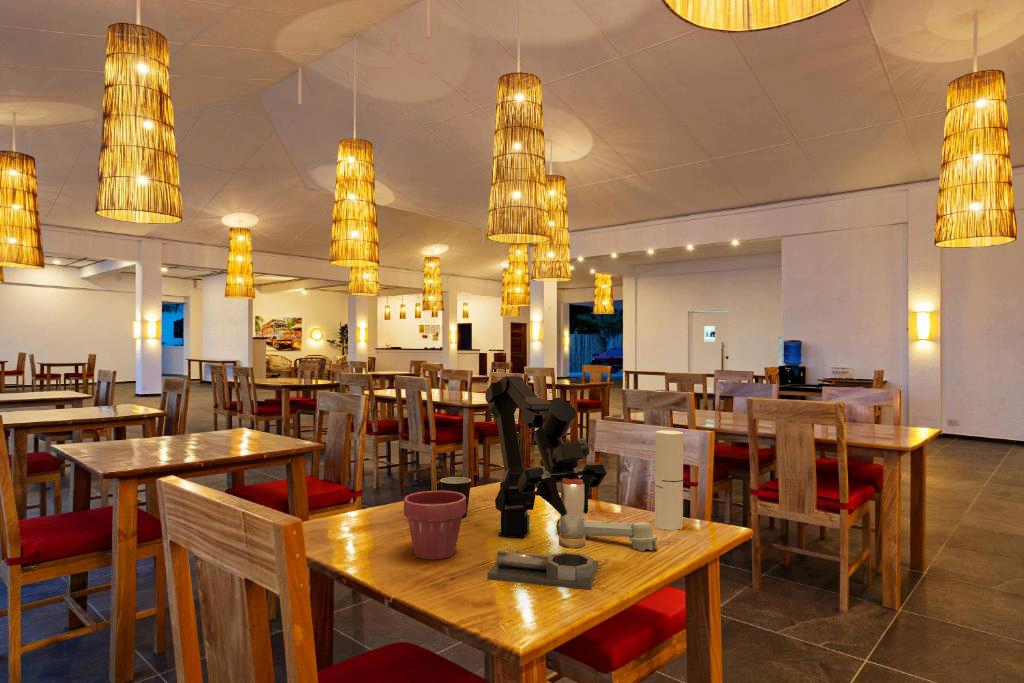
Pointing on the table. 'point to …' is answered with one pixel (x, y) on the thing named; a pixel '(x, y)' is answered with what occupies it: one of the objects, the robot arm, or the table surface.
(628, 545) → the table surface
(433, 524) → the plant pot
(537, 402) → the robot arm
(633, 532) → the grey long bar
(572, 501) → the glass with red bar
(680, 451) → the cylindrical container
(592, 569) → the metal plate with ring
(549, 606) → the table surface
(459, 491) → the coffee mug
